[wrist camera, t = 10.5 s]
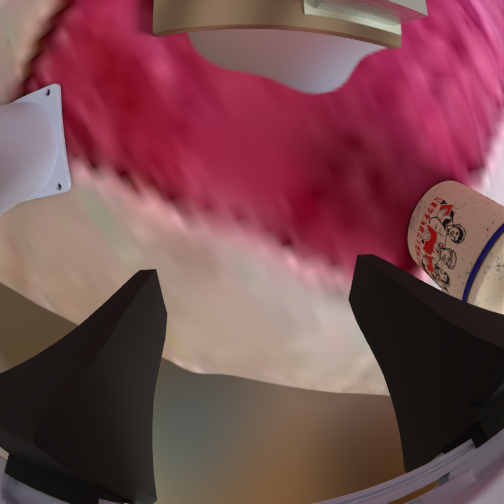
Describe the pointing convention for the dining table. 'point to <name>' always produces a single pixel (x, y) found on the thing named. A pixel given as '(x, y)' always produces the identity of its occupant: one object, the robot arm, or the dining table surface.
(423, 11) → the c link
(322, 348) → the dining table surface
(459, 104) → the dining table surface
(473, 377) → the robot arm
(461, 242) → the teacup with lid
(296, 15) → the board
